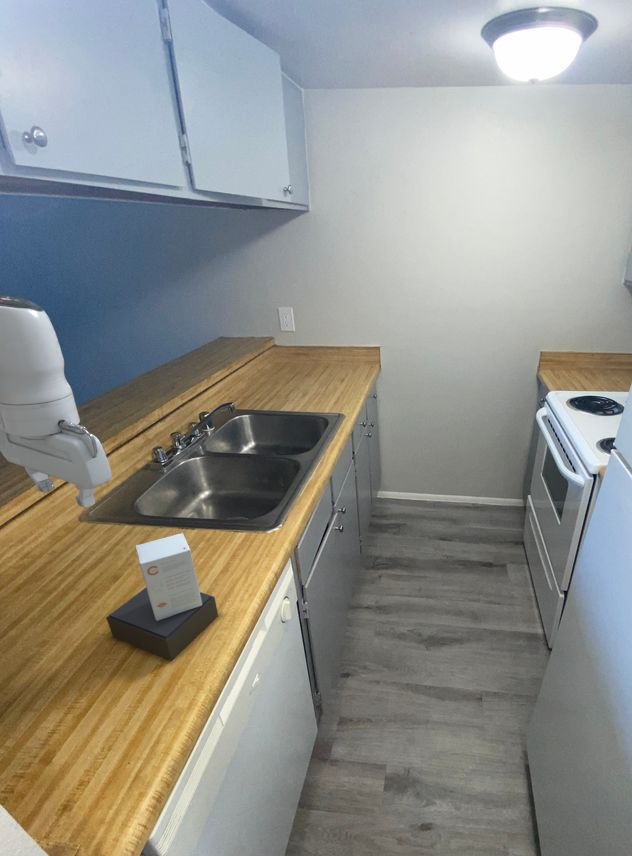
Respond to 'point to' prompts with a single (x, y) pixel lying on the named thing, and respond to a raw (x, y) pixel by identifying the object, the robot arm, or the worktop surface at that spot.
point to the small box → (169, 575)
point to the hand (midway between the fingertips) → (66, 497)
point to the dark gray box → (160, 625)
